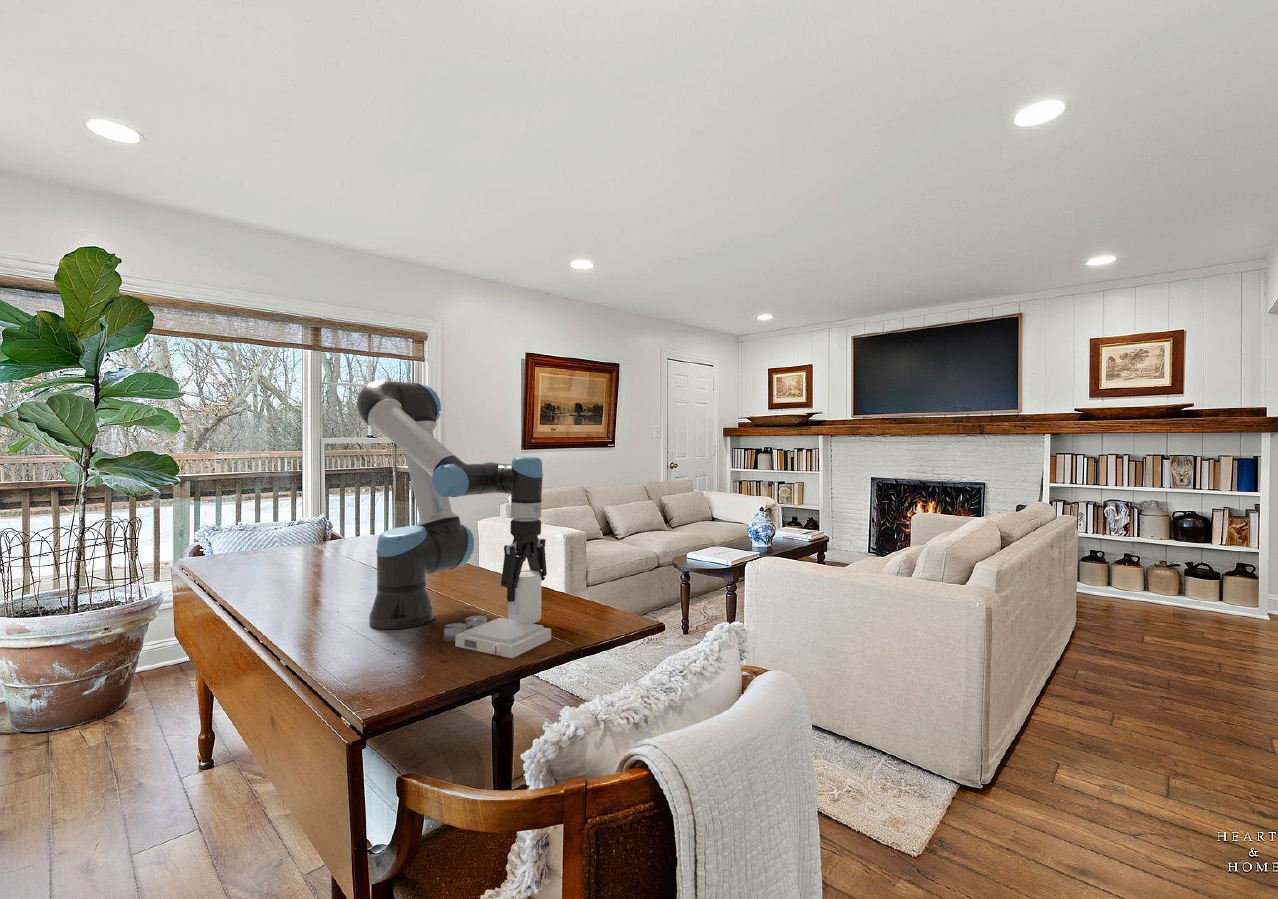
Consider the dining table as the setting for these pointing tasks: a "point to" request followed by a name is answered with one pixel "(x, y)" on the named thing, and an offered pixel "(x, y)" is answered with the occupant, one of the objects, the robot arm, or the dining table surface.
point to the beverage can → (528, 597)
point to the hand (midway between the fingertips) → (524, 609)
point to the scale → (503, 637)
